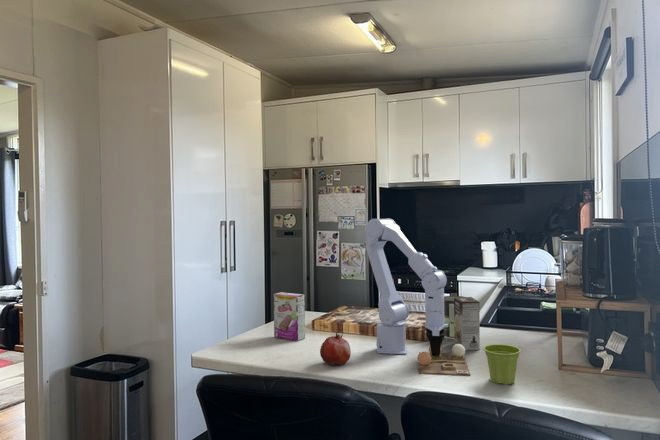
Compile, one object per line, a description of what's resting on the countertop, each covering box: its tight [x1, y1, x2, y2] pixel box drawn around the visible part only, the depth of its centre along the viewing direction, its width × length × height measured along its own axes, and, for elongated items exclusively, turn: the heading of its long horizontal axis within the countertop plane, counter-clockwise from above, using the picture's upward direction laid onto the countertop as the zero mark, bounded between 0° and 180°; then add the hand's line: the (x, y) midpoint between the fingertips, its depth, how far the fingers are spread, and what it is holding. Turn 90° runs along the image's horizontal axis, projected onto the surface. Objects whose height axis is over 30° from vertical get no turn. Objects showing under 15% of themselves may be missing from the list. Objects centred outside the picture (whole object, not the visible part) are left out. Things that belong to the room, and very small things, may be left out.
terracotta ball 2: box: [428, 345, 443, 355], centre depth 152 cm, size 4×4×4 cm
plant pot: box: [483, 343, 522, 385], centre depth 131 cm, size 9×9×9 cm
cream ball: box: [451, 343, 466, 357], centre depth 150 cm, size 4×4×4 cm
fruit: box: [319, 331, 352, 367], centre depth 148 cm, size 9×10×10 cm
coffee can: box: [443, 295, 464, 341], centre depth 179 cm, size 10×10×14 cm
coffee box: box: [454, 296, 481, 351], centre depth 165 cm, size 9×6×16 cm
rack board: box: [417, 351, 471, 377], centre depth 146 cm, size 14×20×1 cm
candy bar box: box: [273, 291, 306, 342], centre depth 180 cm, size 11×5×16 cm, turn 58°
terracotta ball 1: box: [417, 351, 431, 366], centre depth 143 cm, size 4×4×4 cm
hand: (435, 353), depth 152 cm, fingers closed on terracotta ball 2, 4 cm apart
